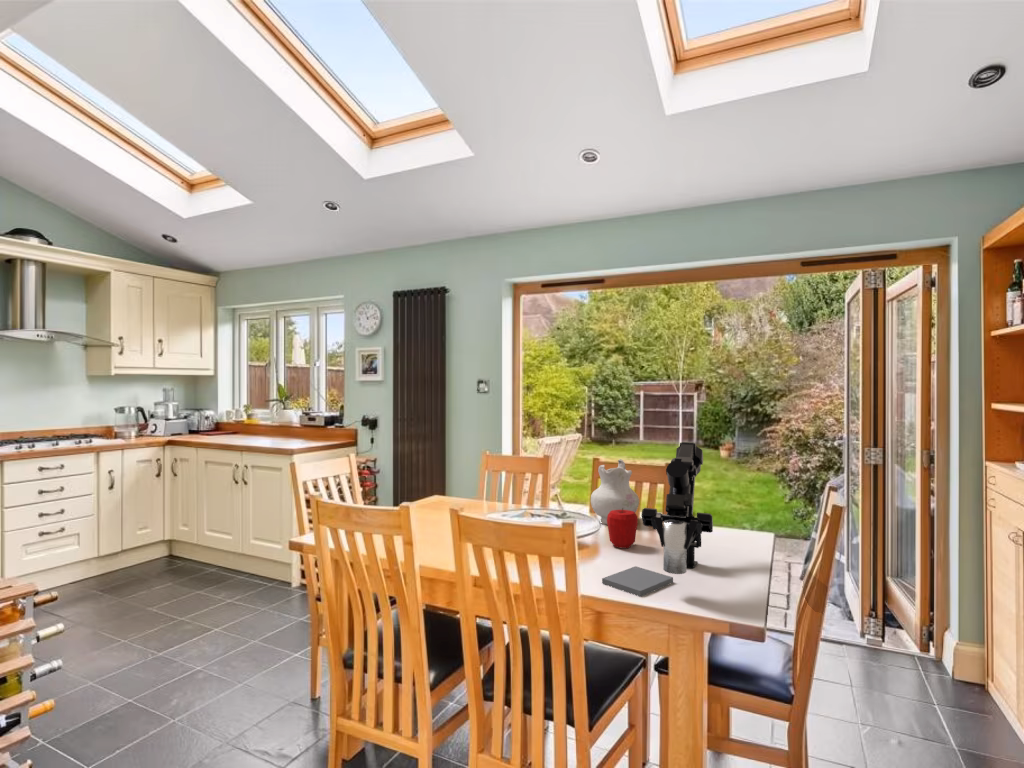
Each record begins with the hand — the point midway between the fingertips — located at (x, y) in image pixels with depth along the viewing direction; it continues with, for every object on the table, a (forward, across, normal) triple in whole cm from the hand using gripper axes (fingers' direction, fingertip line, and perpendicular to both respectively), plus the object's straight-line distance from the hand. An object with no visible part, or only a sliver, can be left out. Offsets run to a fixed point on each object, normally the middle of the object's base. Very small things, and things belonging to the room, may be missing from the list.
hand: (674, 547), depth 152 cm
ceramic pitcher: (-42, -32, +63) cm, 83 cm away
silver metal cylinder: (+4, 0, +6) cm, 7 cm away
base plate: (+5, -11, +14) cm, 18 cm away
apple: (-19, -22, +39) cm, 48 cm away
